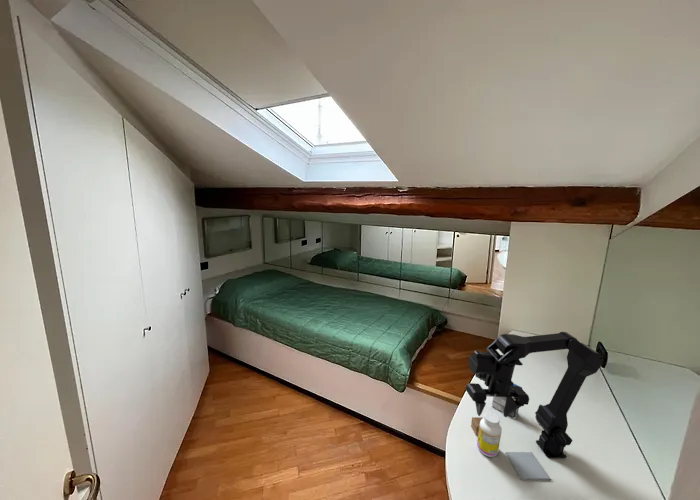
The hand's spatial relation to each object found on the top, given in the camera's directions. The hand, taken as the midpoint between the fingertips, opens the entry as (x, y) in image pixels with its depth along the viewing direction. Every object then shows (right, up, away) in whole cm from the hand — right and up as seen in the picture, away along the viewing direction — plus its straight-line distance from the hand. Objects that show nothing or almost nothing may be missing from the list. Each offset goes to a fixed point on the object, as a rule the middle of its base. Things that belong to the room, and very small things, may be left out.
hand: (491, 415), depth 96 cm
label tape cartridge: (+15, -10, +21) cm, 28 cm away
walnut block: (0, -12, +10) cm, 16 cm away
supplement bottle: (0, -13, +3) cm, 14 cm away
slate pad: (+10, -15, -3) cm, 18 cm away
